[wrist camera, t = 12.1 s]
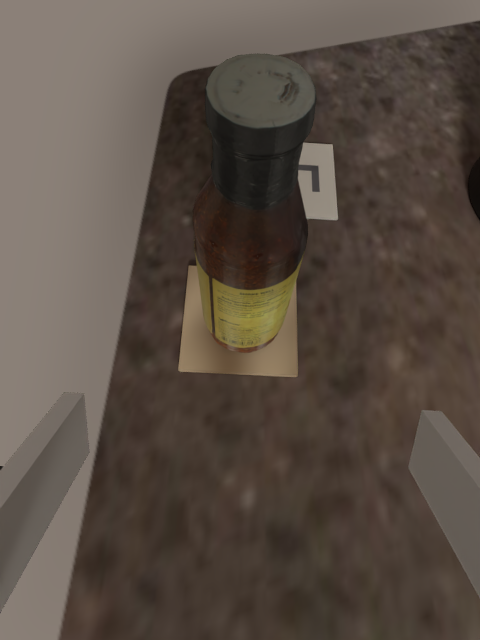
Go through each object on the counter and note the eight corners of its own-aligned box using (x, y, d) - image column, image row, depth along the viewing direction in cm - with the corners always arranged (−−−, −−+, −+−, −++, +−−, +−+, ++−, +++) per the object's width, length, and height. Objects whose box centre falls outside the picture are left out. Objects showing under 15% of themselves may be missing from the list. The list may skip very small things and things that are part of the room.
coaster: (294, 275, 35) (295, 271, 35) (296, 377, 31) (297, 374, 31) (189, 269, 35) (188, 265, 34) (179, 371, 31) (178, 369, 31)
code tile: (331, 146, 41) (332, 144, 41) (337, 220, 38) (337, 218, 37) (242, 141, 41) (242, 138, 41) (239, 214, 37) (239, 212, 37)
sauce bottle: (297, 322, 33) (401, 104, 14) (239, 372, 31) (275, 195, 13) (241, 268, 34) (272, 11, 16) (184, 313, 32) (143, 79, 14)
